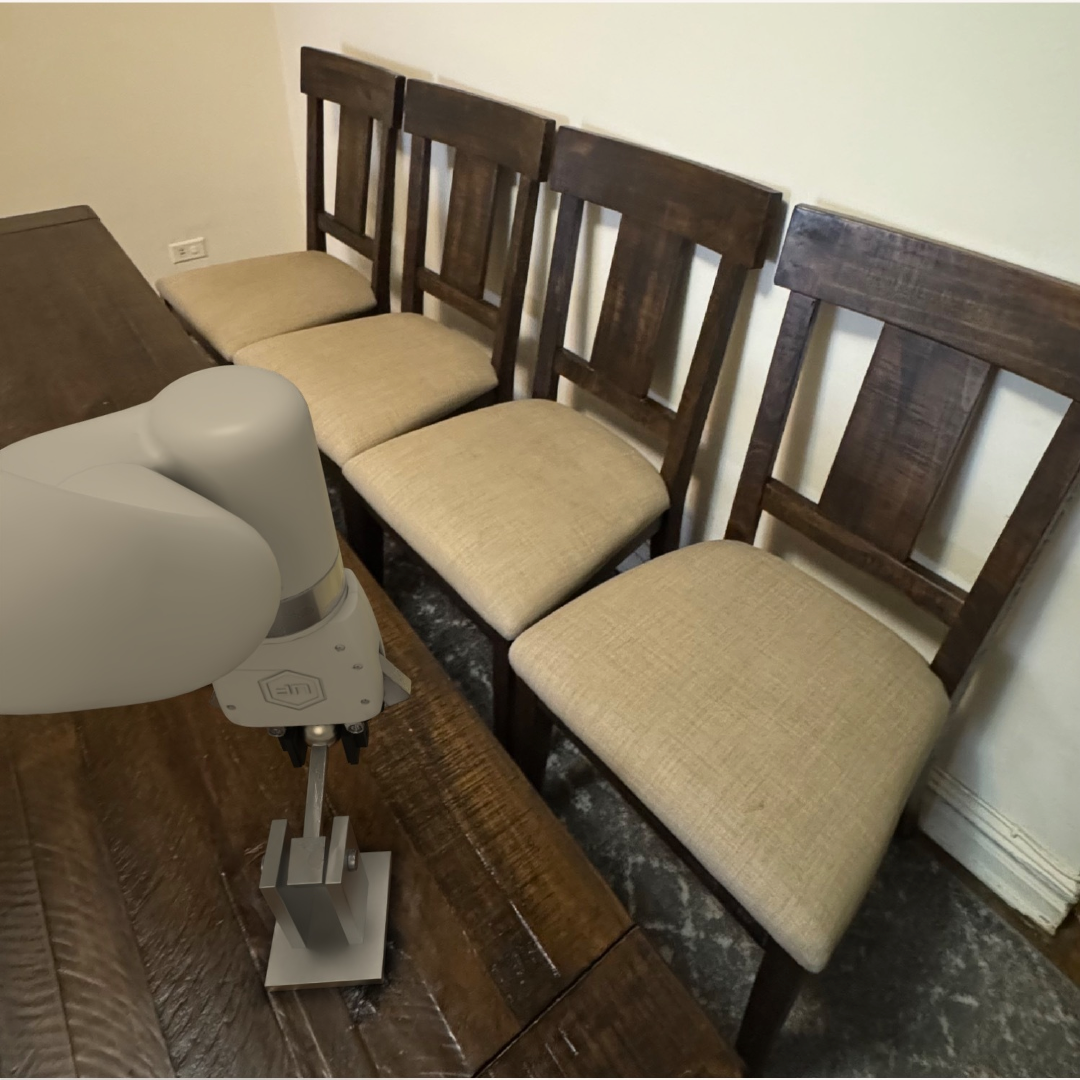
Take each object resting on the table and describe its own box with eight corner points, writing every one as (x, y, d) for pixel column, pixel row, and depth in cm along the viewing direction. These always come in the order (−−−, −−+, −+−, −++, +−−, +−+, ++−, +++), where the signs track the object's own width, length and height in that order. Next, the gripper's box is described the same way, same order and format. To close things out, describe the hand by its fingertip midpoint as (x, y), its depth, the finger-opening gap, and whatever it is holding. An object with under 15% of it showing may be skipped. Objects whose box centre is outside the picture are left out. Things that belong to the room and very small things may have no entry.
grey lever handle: (306, 712, 55) (296, 698, 52) (350, 710, 55) (342, 696, 53) (289, 889, 49) (276, 884, 46) (338, 886, 49) (328, 881, 47)
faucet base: (289, 863, 58) (255, 788, 50) (392, 857, 59) (375, 782, 51) (267, 991, 52) (224, 929, 44) (383, 983, 52) (361, 920, 44)
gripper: (105, 633, 39) (202, 802, 52) (418, 622, 40) (439, 789, 53) (149, 537, 45) (227, 710, 57) (424, 530, 46) (441, 701, 59)
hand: (329, 747), depth 55 cm, fingers closed on grey lever handle, 3 cm apart
